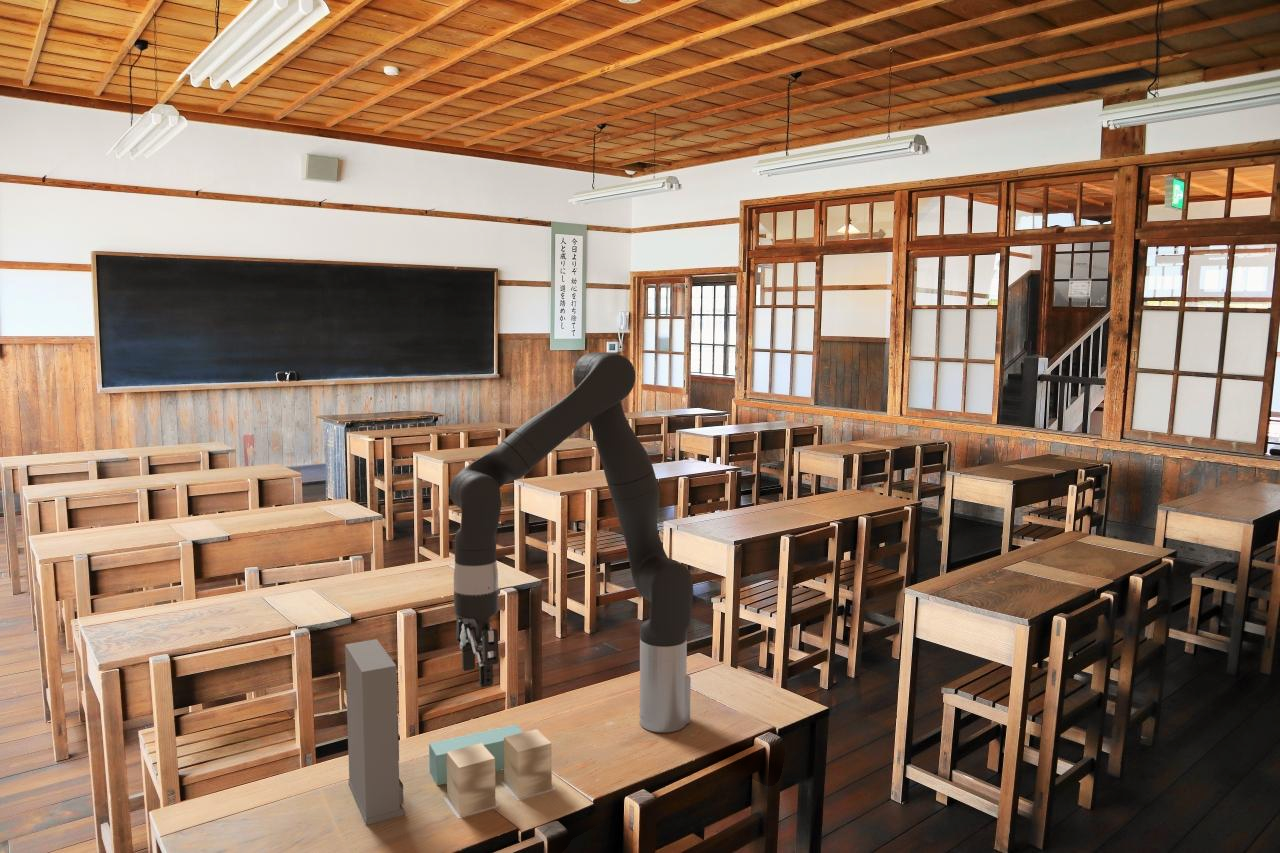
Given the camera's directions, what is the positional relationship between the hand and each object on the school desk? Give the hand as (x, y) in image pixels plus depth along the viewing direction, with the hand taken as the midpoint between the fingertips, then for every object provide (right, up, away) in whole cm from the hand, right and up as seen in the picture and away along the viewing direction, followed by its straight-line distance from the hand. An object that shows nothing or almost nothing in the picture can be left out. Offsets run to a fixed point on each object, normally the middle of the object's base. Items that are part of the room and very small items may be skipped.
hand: (477, 677), depth 146 cm
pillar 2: (+9, -17, -4) cm, 20 cm away
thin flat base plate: (+5, -18, -7) cm, 20 cm away
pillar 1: (+1, -17, -9) cm, 20 cm away
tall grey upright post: (-15, -18, -8) cm, 25 cm away
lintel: (0, -17, +2) cm, 17 cm away
